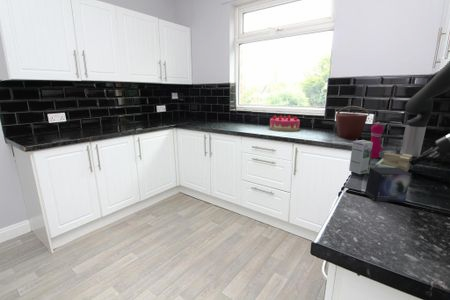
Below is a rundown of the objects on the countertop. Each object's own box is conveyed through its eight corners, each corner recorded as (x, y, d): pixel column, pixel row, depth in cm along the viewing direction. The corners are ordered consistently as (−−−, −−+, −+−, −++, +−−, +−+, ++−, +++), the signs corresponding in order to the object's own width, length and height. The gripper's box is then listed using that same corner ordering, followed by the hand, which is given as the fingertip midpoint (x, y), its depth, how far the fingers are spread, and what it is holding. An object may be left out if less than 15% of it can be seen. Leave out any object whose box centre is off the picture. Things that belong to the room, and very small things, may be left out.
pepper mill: (362, 155, 136) (367, 121, 131) (370, 154, 139) (376, 120, 134) (374, 158, 130) (380, 122, 125) (382, 157, 132) (389, 122, 128)
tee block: (384, 164, 120) (387, 151, 118) (409, 169, 113) (412, 155, 111) (380, 168, 113) (382, 154, 111) (405, 174, 106) (409, 159, 104)
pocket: (382, 162, 123) (383, 157, 122) (400, 165, 118) (401, 161, 117) (374, 169, 112) (375, 164, 112) (393, 173, 107) (394, 167, 107)
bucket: (372, 139, 183) (377, 107, 177) (350, 141, 176) (355, 107, 170) (346, 134, 206) (350, 105, 199) (326, 135, 198) (330, 105, 192)
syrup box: (359, 174, 104) (364, 143, 101) (348, 170, 110) (352, 140, 106) (368, 173, 107) (373, 142, 103) (356, 169, 112) (361, 139, 108)
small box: (374, 202, 78) (380, 173, 76) (363, 194, 85) (368, 166, 82) (406, 202, 78) (412, 173, 76) (392, 194, 85) (398, 167, 82)
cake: (266, 127, 241) (266, 114, 238) (292, 126, 244) (293, 114, 241) (274, 131, 214) (275, 117, 211) (303, 131, 217) (305, 117, 214)
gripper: (447, 133, 103) (407, 154, 114) (445, 136, 94) (402, 160, 105) (461, 146, 101) (418, 167, 112) (460, 152, 91) (414, 174, 103)
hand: (410, 163), depth 108 cm, fingers closed
